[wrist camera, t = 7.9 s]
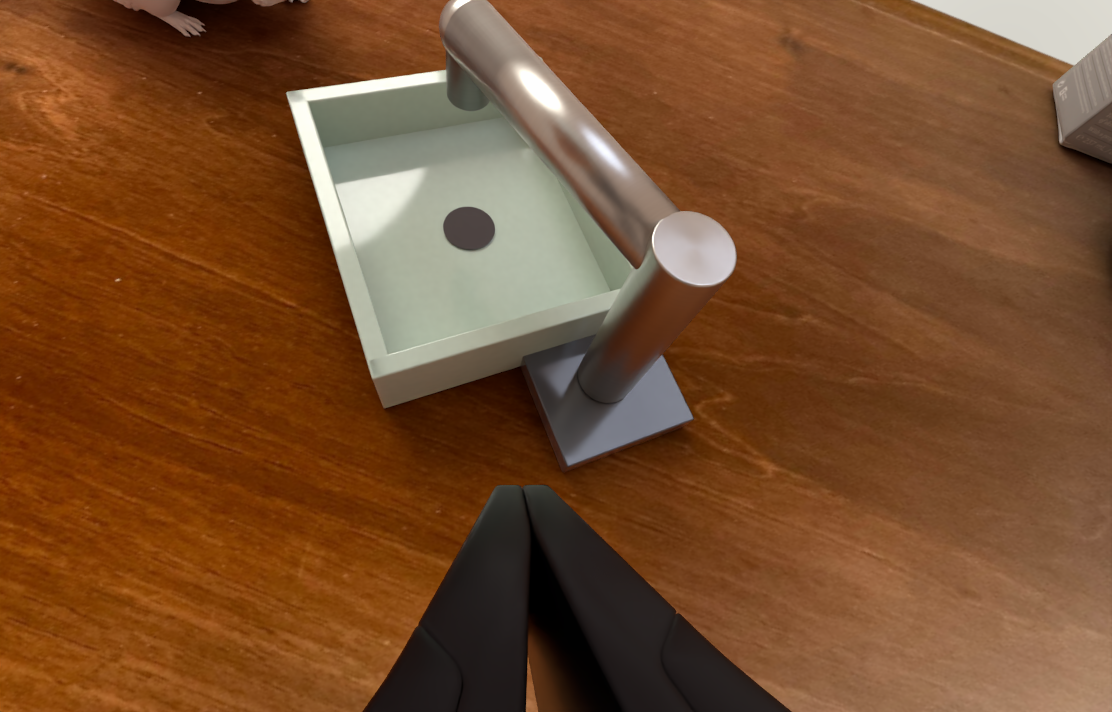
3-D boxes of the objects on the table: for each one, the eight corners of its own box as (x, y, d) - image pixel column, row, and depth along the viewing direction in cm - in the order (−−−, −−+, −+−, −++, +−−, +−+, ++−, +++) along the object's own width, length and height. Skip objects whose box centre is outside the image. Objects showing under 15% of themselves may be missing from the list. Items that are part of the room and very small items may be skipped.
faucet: (643, 383, 24) (755, 260, 15) (601, 414, 23) (693, 302, 14) (475, 177, 26) (485, -30, 18) (431, 197, 26) (419, -10, 17)
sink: (684, 426, 25) (718, 402, 21) (419, 527, 21) (413, 516, 18) (532, 111, 30) (541, 55, 27) (305, 149, 27) (285, 91, 24)
